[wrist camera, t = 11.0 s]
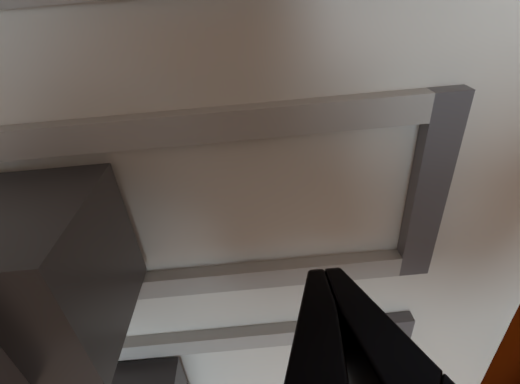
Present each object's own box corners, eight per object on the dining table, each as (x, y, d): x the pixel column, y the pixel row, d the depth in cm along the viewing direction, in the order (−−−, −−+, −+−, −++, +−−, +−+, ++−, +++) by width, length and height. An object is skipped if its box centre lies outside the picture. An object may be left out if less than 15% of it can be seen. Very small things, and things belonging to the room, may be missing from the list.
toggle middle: (110, 162, 9) (12, 306, 5) (146, 269, 12) (97, 429, 7) (-37, 176, 9) (-248, 329, 5) (27, 280, 12) (-89, 446, 7)
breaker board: (874, -644, 5) (1189, -950, 3) (458, 366, 19) (480, 405, 17) (-562, -527, 5) (-973, -783, 3) (77, 402, 19) (62, 444, 17)
